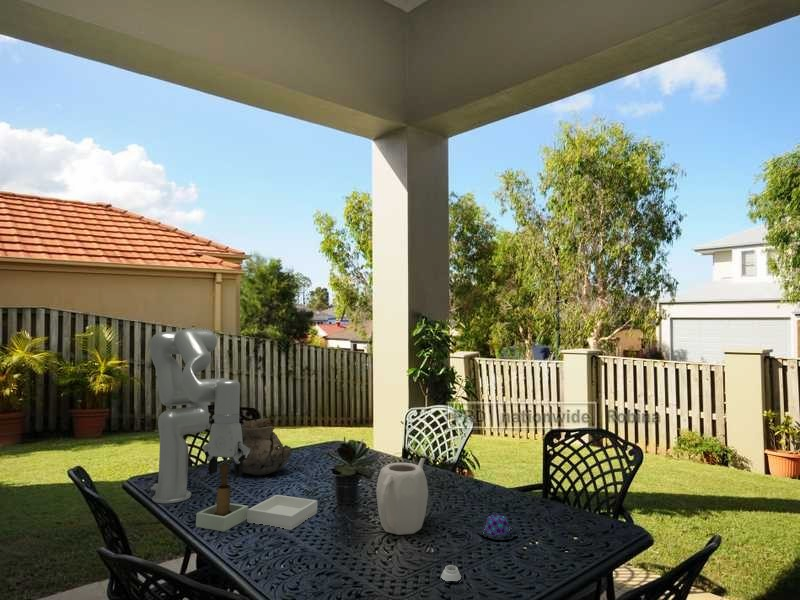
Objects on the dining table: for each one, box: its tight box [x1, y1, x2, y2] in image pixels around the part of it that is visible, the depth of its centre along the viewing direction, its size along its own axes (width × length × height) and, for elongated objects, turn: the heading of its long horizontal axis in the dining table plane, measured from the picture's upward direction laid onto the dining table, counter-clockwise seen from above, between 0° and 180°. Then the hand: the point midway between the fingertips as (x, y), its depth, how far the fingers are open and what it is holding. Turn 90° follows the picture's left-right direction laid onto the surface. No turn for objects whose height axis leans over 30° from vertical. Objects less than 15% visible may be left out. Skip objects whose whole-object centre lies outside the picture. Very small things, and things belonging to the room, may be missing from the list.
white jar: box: [440, 564, 462, 581], centre depth 123 cm, size 5×3×5 cm
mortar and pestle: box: [213, 463, 232, 516], centre depth 158 cm, size 7×6×18 cm
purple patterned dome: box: [484, 514, 510, 535], centre depth 152 cm, size 12×12×5 cm
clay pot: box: [228, 418, 292, 476], centre depth 215 cm, size 25×24×22 cm
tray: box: [246, 494, 318, 531], centre depth 163 cm, size 16×16×4 cm
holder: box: [195, 502, 249, 532], centre depth 158 cm, size 10×12×4 cm
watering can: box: [375, 457, 429, 536], centre depth 156 cm, size 16×27×19 cm, turn 150°
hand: (225, 474), depth 158 cm, fingers open, 9 cm apart
